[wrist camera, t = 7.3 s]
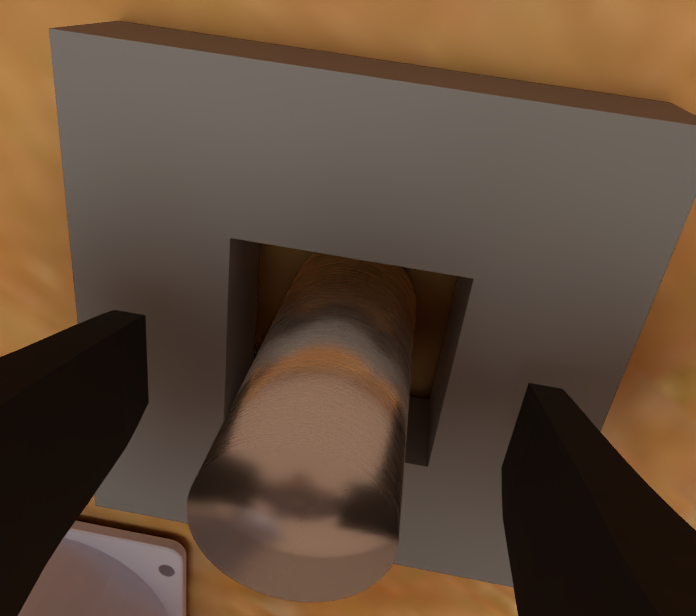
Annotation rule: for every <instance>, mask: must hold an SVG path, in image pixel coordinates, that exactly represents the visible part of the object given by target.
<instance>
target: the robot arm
mask: <svg viewBox="0 0 696 616" xmlns="http://www.w3.org/2000/svg"><path fill="white" fill-rule="evenodd" d="M148 403H149V395H148V368H147V342H146V315H142V314H136V313H130V312H125V311H119V310H112V311H109V312H106V313H103V314H101V315H98V316H96V317H93V318H91V319H88V320H86V321H84V322H81V323H79V324H77V325H75V326H72V327H70V328H68V329H65V330H63V331H61V332H59V333H56V334H54V335H52V336H49V337H47V338H45V339H43V340H40V341H38V342H36V343H33V344H31V345H29V346H26V347H24V348H22V349H19V350H17V351H15V352H12V353H10V354H7V355H5V356H2V357H0V616H186V551H185V549H184V547H183V546H182V545H181V544H180V543H178V542H177V541H174V540H171V539H167V538H161V537H156V536H151V535H146V534H141V533H136V532H131V531H126V530H121V529H116V528H111V527H106V526H101V525H96V524H91V523H85V522H80V521H76V519H77V518H78V517H79V515H80V514H81V512H82V511H83V509H84V508H85V507H86V505H87V504H88V502H89V501H90V499H91V498H92V497H93V495H94V494H95V492H96V491H97V489H98V488H99V487H100V485H101V484H102V482H103V481H104V479H105V478H106V476H107V475H108V474H109V472H110V471H111V469H112V468H113V466H114V465H115V463H116V462H117V460H118V459H119V457H120V456H121V454H122V453H123V451H124V450H125V448H126V447H127V445H128V443H129V441H130V439H131V438H132V436H133V434H134V432H135V430H136V428H137V426H138V424H139V422H140V420H141V418H142V416H143V414H144V412H145V409H146V407H147V405H148ZM501 478H502V514H503V523H504V530H505V537H506V543H507V549H508V556H509V562H510V568H511V574H512V580H513V586H514V592H515V598H516V604H517V611H518V616H696V530H695V529H693V528H692V527H691V526H690V525H689V524H688V523H687V522H686V521H685V520H684V519H683V518H682V517H680V516H679V515H678V514H677V513H676V512H675V511H674V510H673V509H672V508H671V507H670V506H669V505H668V504H667V503H666V502H665V501H664V500H663V499H662V498H661V497H660V496H659V495H658V494H657V493H656V492H655V491H654V490H653V489H652V488H651V487H650V486H649V485H648V484H647V483H646V482H645V481H644V480H643V479H642V478H641V477H640V476H639V474H638V473H637V472H636V471H635V470H634V469H633V468H632V467H631V466H630V465H629V464H628V463H627V462H626V460H625V459H624V458H623V457H622V456H621V455H620V454H619V453H618V452H617V450H616V449H615V448H614V447H613V446H612V445H611V444H610V443H609V441H608V440H607V439H606V438H605V437H604V436H603V435H602V433H601V432H600V431H599V430H598V429H597V427H596V426H595V425H594V424H593V423H592V422H591V420H590V419H589V418H588V417H587V416H586V415H585V413H584V412H583V411H582V410H581V409H580V408H579V406H578V405H577V404H576V403H575V402H574V401H573V400H572V398H571V397H570V396H569V395H568V394H567V393H566V392H565V391H564V390H563V389H561V388H556V387H550V386H544V385H539V384H533V383H528V386H527V389H526V392H525V395H524V399H523V402H522V405H521V408H520V411H519V414H518V417H517V420H516V424H515V427H514V430H513V433H512V436H511V439H510V442H509V445H508V449H507V452H506V455H505V458H504V461H503V464H502V467H501Z"/></svg>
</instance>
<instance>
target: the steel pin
mask: <svg viewBox="0 0 696 616" xmlns="http://www.w3.org/2000/svg"><path fill="white" fill-rule="evenodd" d="M415 316H416V295H415V290H414V287H413V284H412V282H411V279H410V277H409V276H408V274H407V273H406V271H405V270H404V268H403V267H400V266H394V265H388V264H383V263H377V262H371V261H365V260H359V259H353V258H347V257H341V256H335V255H329V254H323V253H315V254H314V255H312V256H311V257H310V258H309V259H307V260H306V262H305V263H304V264H303V265H302V266H301V268H300V269H299V270H298V272H297V274H296V276H295V278H294V280H293V282H292V284H291V286H290V289H289V291H288V293H287V295H286V297H285V299H284V301H283V303H282V305H281V307H280V309H279V311H278V313H277V315H276V317H275V319H274V321H273V323H272V325H271V327H270V329H269V331H268V333H267V335H266V337H265V339H264V341H263V343H262V345H261V347H260V349H259V351H258V353H257V355H256V357H255V359H254V361H253V363H252V365H251V367H250V369H249V371H248V373H247V375H246V377H245V379H244V381H243V383H242V385H241V387H240V389H239V391H238V393H237V395H236V397H235V400H234V402H233V404H232V406H231V408H230V410H229V412H228V414H227V416H226V418H225V420H224V422H223V424H222V426H221V428H220V430H219V432H218V434H217V436H216V438H215V440H214V442H213V444H212V446H211V448H210V450H209V452H208V454H207V456H206V458H205V460H204V462H203V464H202V466H201V468H200V470H199V472H198V474H197V476H196V478H195V480H194V482H193V484H192V486H191V488H190V491H189V495H188V498H187V507H186V510H187V520H188V524H189V528H190V531H191V533H192V535H193V538H194V540H195V541H196V543H197V545H198V546H199V548H200V549H201V551H202V552H203V553H204V555H205V556H206V557H207V558H208V559H209V560H210V561H211V562H212V563H213V564H214V565H215V566H216V567H217V568H218V569H219V570H221V571H222V572H223V573H224V574H226V575H227V576H229V577H230V578H232V579H233V580H235V581H236V582H238V583H240V584H242V585H244V586H245V587H248V588H250V589H252V590H254V591H257V592H259V593H262V594H265V595H268V596H271V597H275V598H279V599H284V600H290V601H298V602H325V601H334V600H338V599H343V598H346V597H349V596H352V595H355V594H358V593H360V592H362V591H364V590H366V589H367V588H369V587H371V586H372V585H374V584H375V583H376V582H377V581H378V580H380V579H381V578H382V577H383V576H384V575H385V573H386V572H387V571H388V570H389V568H390V567H391V565H392V563H393V561H394V559H395V556H396V553H397V550H398V544H399V533H400V519H401V506H402V492H403V479H404V465H405V451H406V438H407V424H408V411H409V397H410V384H411V370H412V356H413V343H414V329H415Z"/></svg>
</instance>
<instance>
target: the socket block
mask: <svg viewBox="0 0 696 616" xmlns="http://www.w3.org/2000/svg"><path fill="white" fill-rule="evenodd" d="M49 33H50V43H51V54H52V64H53V74H54V84H55V95H56V105H57V115H58V125H59V135H60V146H61V156H62V166H63V176H64V187H65V197H66V207H67V217H68V228H69V238H70V248H71V258H72V268H73V279H74V289H75V299H76V309H77V320H78V324H79V323H81V322H84V321H86V320H88V319H91V318H93V317H96V316H98V315H101V314H103V313H106V312H109V311H112V310H119V311H125V312H130V313H136V314H142V315H146V342H147V368H148V395H149V403H148V405H147V407H146V409H145V412H144V414H143V416H142V418H141V420H140V422H139V424H138V426H137V428H136V430H135V432H134V434H133V436H132V438H131V439H130V441H129V443H128V445H127V447H126V448H125V450H124V451H123V453H122V454H121V456H120V457H119V459H118V460H117V462H116V463H115V465H114V466H113V468H112V469H111V471H110V472H109V474H108V475H107V476H106V478H105V479H104V481H103V482H102V484H101V485H100V487H99V488H98V489H97V491H96V492H95V504H96V506H101V507H106V508H111V509H116V510H121V511H126V512H131V513H136V514H141V515H147V516H152V517H157V518H162V519H167V520H172V521H177V522H182V523H187V524H188V520H187V510H186V507H187V498H188V495H189V491H190V488H191V486H192V484H193V482H194V480H195V478H196V476H197V474H198V472H199V470H200V468H201V466H202V464H203V462H204V460H205V458H206V456H207V454H208V452H209V450H210V448H211V446H212V444H213V442H214V440H215V438H216V436H217V434H218V432H219V430H220V428H221V426H222V424H223V422H224V420H225V418H226V416H227V414H228V412H229V410H230V408H231V406H232V404H233V402H234V400H235V397H236V395H237V393H238V391H239V389H240V387H241V385H242V383H243V381H244V379H245V377H246V375H247V373H248V371H249V369H250V367H251V365H252V363H253V361H254V345H255V328H256V312H257V295H258V279H259V262H260V246H261V243H263V244H269V245H275V246H281V247H287V248H293V249H299V250H305V251H311V252H317V253H323V254H329V255H335V256H341V257H347V258H353V259H359V260H365V261H371V262H377V263H383V264H388V265H394V266H400V267H406V268H412V269H418V270H424V271H430V272H436V273H442V274H448V275H454V276H458V278H457V282H456V287H455V291H454V295H453V300H452V304H451V308H450V313H449V317H448V321H447V326H446V330H445V334H444V339H443V343H442V347H441V352H440V356H439V360H438V365H437V369H436V373H435V378H434V382H433V386H432V391H431V395H430V399H429V400H428V399H423V398H417V397H412V396H410V397H409V411H408V424H407V438H406V451H405V465H404V479H403V492H402V506H401V519H400V533H399V544H398V550H397V553H396V556H395V559H394V561H393V563H392V564H397V565H402V566H407V567H412V568H418V569H423V570H428V571H433V572H438V573H443V574H448V575H453V576H458V577H464V578H469V579H474V580H479V581H484V582H489V583H494V584H499V585H505V586H510V587H514V586H513V580H512V574H511V568H510V562H509V556H508V549H507V543H506V537H505V530H504V523H503V514H502V478H501V467H502V464H503V461H504V458H505V455H506V452H507V449H508V445H509V442H510V439H511V436H512V433H513V430H514V427H515V424H516V420H517V417H518V414H519V411H520V408H521V405H522V402H523V399H524V395H525V392H526V389H527V386H528V383H533V384H539V385H544V386H550V387H556V388H561V389H563V390H564V391H565V392H566V393H567V394H568V395H569V396H570V397H571V398H572V400H573V401H574V402H575V403H576V404H577V405H578V406H579V408H580V409H581V410H582V411H583V412H584V413H585V415H586V416H587V417H588V418H589V419H590V420H591V422H592V423H593V424H594V425H595V426H596V427H597V429H598V430H599V431H601V429H602V426H603V424H604V421H605V419H606V416H607V414H608V411H609V409H610V406H611V404H612V401H613V399H614V397H615V394H616V392H617V389H618V387H619V384H620V382H621V379H622V377H623V374H624V372H625V369H626V367H627V365H628V362H629V360H630V357H631V355H632V352H633V350H634V347H635V345H636V342H637V340H638V337H639V335H640V332H641V330H642V328H643V325H644V323H645V320H646V318H647V315H648V313H649V310H650V308H651V305H652V303H653V300H654V298H655V296H656V293H657V291H658V288H659V286H660V283H661V281H662V278H663V276H664V273H665V271H666V268H667V266H668V263H669V261H670V259H671V256H672V254H673V251H674V249H675V246H676V244H677V241H678V239H679V236H680V234H681V231H682V229H683V227H684V224H685V222H686V219H687V217H688V214H689V212H690V209H691V207H692V204H693V202H694V199H695V197H696V116H695V115H693V114H691V113H689V112H687V111H685V110H683V109H681V108H679V107H677V106H675V105H674V104H672V103H668V102H661V101H654V100H648V99H641V98H634V97H627V96H621V95H614V94H607V93H600V92H594V91H587V90H580V89H573V88H567V87H560V86H553V85H546V84H540V83H533V82H526V81H519V80H513V79H506V78H499V77H492V76H486V75H479V74H472V73H466V72H459V71H452V70H445V69H439V68H432V67H425V66H418V65H412V64H405V63H398V62H391V61H385V60H378V59H371V58H364V57H358V56H351V55H344V54H337V53H331V52H324V51H317V50H310V49H304V48H297V47H290V46H283V45H277V44H270V43H263V42H256V41H250V40H243V39H236V38H229V37H223V36H216V35H209V34H202V33H196V32H189V31H182V30H176V29H169V28H162V27H155V26H149V25H142V24H135V23H128V22H122V21H113V22H104V23H94V24H85V25H76V26H67V27H57V28H49Z"/></svg>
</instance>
